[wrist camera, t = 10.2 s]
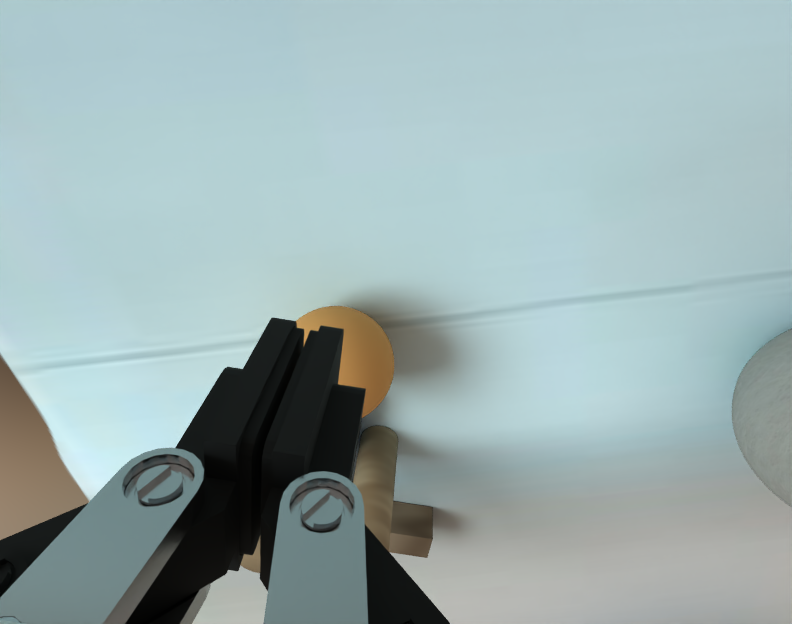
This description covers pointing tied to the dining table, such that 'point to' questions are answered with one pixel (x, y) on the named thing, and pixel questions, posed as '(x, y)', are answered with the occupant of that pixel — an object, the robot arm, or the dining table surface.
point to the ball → (767, 415)
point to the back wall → (411, 529)
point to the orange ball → (357, 351)
